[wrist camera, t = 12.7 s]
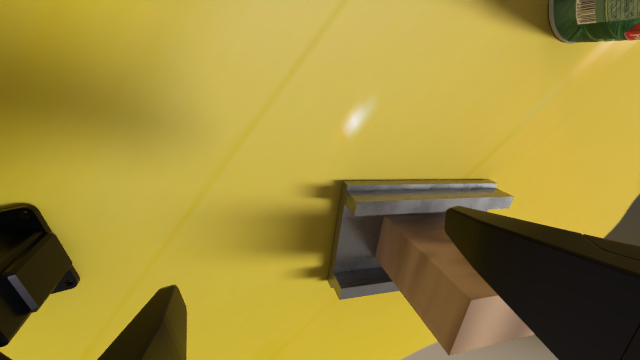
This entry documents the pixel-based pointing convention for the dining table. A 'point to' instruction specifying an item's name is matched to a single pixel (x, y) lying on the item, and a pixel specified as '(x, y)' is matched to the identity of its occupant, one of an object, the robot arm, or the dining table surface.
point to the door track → (392, 199)
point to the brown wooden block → (444, 285)
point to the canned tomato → (595, 20)
